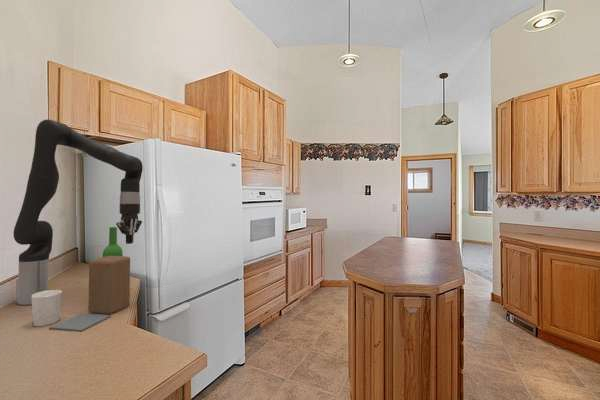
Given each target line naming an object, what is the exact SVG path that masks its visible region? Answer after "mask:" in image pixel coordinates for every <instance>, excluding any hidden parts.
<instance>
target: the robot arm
mask: <svg viewBox="0 0 600 400" xmlns="http://www.w3.org/2000/svg"><path fill="white" fill-rule="evenodd" d="M34 138H35V140H34V150H33V151H34V152H33V156H32V161H31V167H30V172H29V175H28V178H27V179H28V180H27V184H26V190H25V193H24V197H23V201H22V205H21V208H20V211H19V213H18V217H17V220H16V222H15V225H14V227H13V228H14V229H13V239H14V241H15V242H16V243H17V244H18V245H22V246H23V245H24V246H25V245H29V247H28V248H27V249H26V250H24V251H22V252H21V253H19V255H18V278H17V279H16V283H15V284H16V287H15V288H16V289H15V290H16V291H15V304H18V305H20V306H29V305H32V297H31V296H32V295H33V294H35V293H38V292H42V291H49V288H50V287H49V284H50V283H49V280H50V279H49V277H50V274H49V271H50V269H49V268H50V254H51V252H52V249H53V237H54V231H53V227H52V225H51V224H50V222H48V221H46V220H39V218H40V215H41V213H42V211H43V209H44V208H45V207H46V206H47V204H49V202H50V201H51V199H53V197H54V196H55V194H56V193H57V191H58V185H59V180H60V173H59V169H58V166H57V162H56V151H57V147H58V146H65V147H69V148H71V149H76V150H79V151H81V152H83V153H85V154H87V155H88V156H90V157H92V158H93V159H96V160H98V161H101V162H103V163H105V164H109V165H111V166H113V167H114V168H116V169H119V170H120V171H123V172H125V173H124V178H122V179H121V180H120V193H119V214H120V215H121V216H120V221H119V222H116V223H115V224H116V227H117V229H118V230H119V232H120V233H121V234H123V235H125V244H126V245H127V244H128V245H131V244H133V243H134V235H135V234H136V233H138V231H139V229H140V227H141V225H142V223H143V221H142V220H140V219H139V214H141V195H140V192H141V191H140V190H141V189H140V188H141V187H140V186H141V184H140V182H141V178H142V176H143V175H142V174H143V168H144V167H143V162H142V160H141V159H140V158H139V157H136V156H134V155H130V154H128V153H126V152H122V151H120V150H118V149H116V148H115V147H112V146H109V145H107V144H105V143H102V142H99V141H97V140H95V139H92V138H89V137H88V136H85V135H83V134H81V133H80V132H78V131H76V130H75V129H73V128H71V127H70V126H68V125H67V124H66V123H64V122H63V123H62V122H59V121H57V120H54V119H48V118H47V119H44V120H41V121H40V122H39V123H38V125H37V127H36V131H35V137H34Z"/></svg>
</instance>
